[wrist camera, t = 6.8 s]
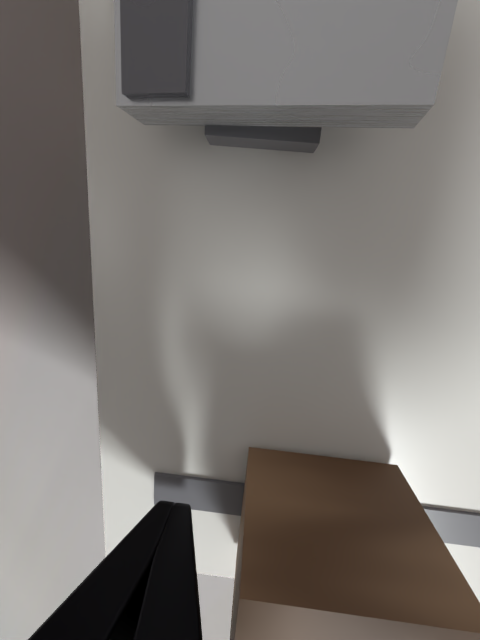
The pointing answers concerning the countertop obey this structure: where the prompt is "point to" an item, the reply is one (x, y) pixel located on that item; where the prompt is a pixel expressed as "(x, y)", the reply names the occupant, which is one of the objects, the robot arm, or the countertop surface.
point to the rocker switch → (280, 61)
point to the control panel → (285, 301)
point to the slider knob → (342, 556)
